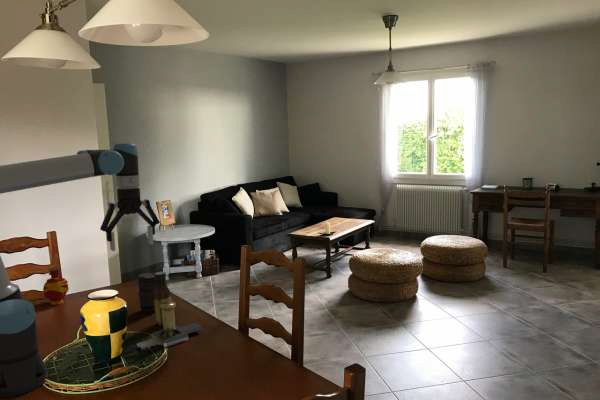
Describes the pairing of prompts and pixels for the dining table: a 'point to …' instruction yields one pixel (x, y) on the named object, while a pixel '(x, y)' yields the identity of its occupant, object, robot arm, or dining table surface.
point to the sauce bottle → (160, 295)
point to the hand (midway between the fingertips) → (132, 247)
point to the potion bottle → (55, 287)
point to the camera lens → (147, 292)
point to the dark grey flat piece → (179, 337)
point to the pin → (168, 318)
